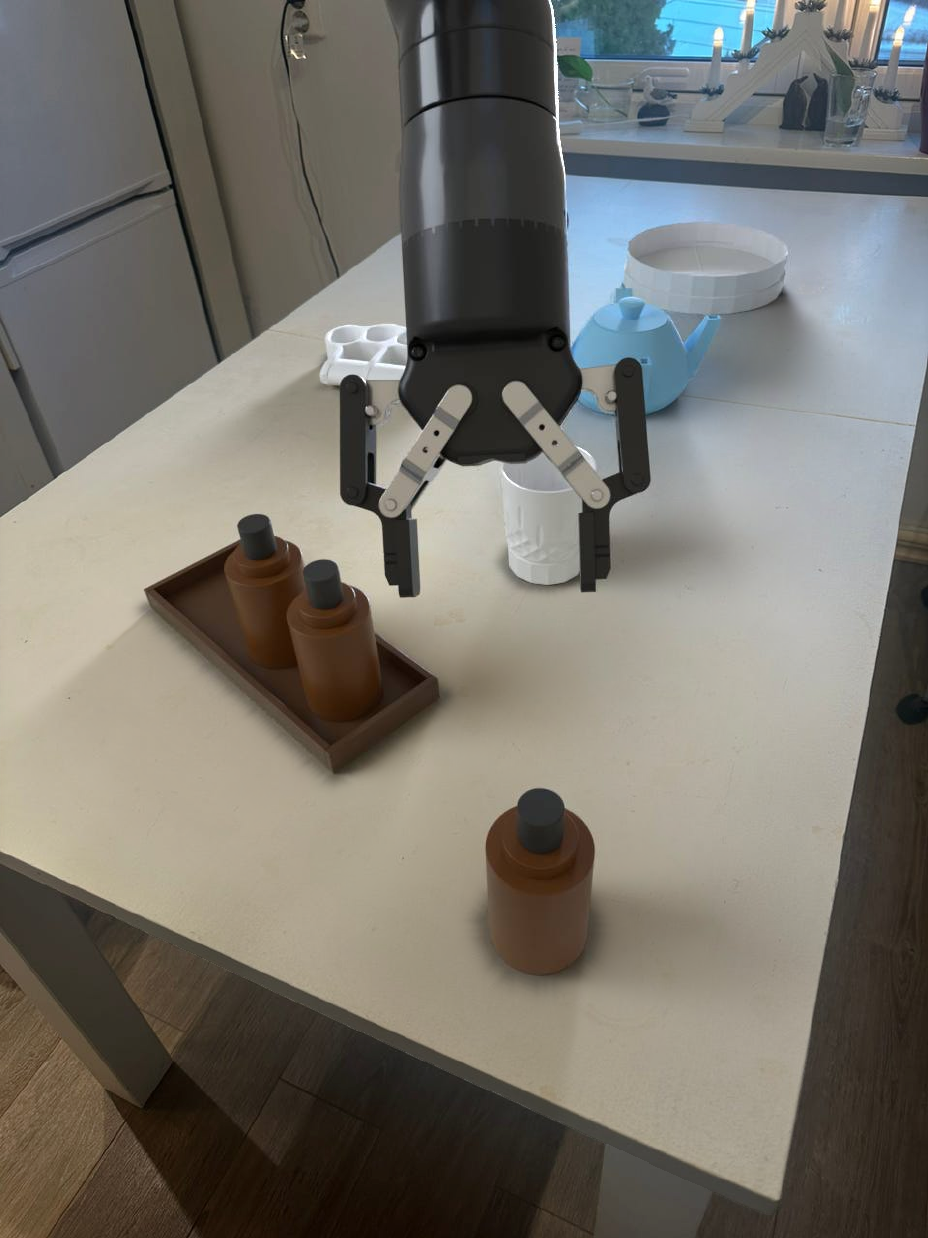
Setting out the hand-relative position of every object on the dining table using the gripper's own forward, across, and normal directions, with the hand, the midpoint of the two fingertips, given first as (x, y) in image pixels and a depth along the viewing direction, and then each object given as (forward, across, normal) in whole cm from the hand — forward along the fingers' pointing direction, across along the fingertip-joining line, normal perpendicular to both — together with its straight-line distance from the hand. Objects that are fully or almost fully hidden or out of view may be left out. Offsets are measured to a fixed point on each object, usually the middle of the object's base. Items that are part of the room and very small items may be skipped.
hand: (498, 593), depth 42 cm
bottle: (+21, +1, +8) cm, 22 cm away
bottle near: (+10, -14, +22) cm, 28 cm away
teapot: (-16, +11, +64) cm, 67 cm away
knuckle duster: (-21, -18, +68) cm, 74 cm away
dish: (-34, +24, +92) cm, 101 cm away
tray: (+7, -20, +27) cm, 34 cm away
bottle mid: (+6, -20, +26) cm, 33 cm away
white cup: (+1, +2, +37) cm, 37 cm away
